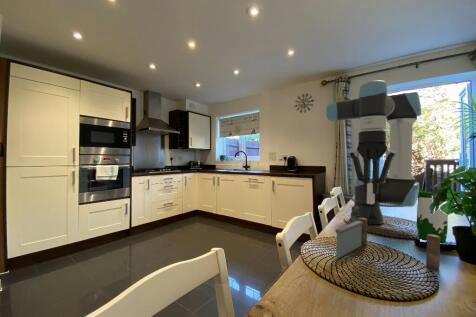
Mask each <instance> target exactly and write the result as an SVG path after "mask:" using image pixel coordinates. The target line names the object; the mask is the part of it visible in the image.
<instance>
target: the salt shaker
mask: <svg viewBox="0 0 476 317" xmlns="http://www.w3.org/2000/svg"><path fill="white" fill-rule="evenodd" d="M351 212H352V213H351ZM351 212H350V215H351V219H350V220H348V221H347V223H348V224H351V223H353V222H356V221H358V218H359V208H358V207H357V206H356V205H355V206H354V205H353V206H352V207H351ZM348 224H347V225H348Z"/></svg>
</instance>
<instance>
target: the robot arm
mask: <svg viewBox="0 0 476 317" xmlns="http://www.w3.org/2000/svg"><path fill="white" fill-rule="evenodd" d="M358 90H359V91H358V98H354V99H348V100H347V99H346V100H340V101H333V102H329V103H328V104H327V106H326V109H325V114H326V118H327V120H328V121H329V122H340V121H347V120H348V121H349V120H354V119H355V120H356V119H358V131H359V132H358V144H357V147H356V150H354V151H352V152H349V156H350V157H351V159H352V161H353V166H354V170H355V174H356V179H355V180H354V200H353V201H354V205H353V206H355V205H356V206H357V207H358V208H359V218H365V219H367V225H369V224H381V225H383V224H382V223H385V220H384V219H385V218H384V215H383V213H382V212H383V211H382V209H381V204H387V205H392V206H393V205H395V206H401V207H410V208H411V207H412V208H413V207H414V206H415V205H416V203H417V202H418V195H419V191H420V182H418V181H416V177H414V176H413V175H412V167H413V166H412V165H413V164H412V161H413V159H412V158H413V157H412V156H413V153H412V152H413V124H414V123H415V122H416V121H418V117H419V116H421V115H422V105H421V101H420V96H419V94H418V93H419V92H417V91H416V90H411V91H402V92H398V93H397V92H396V93H391V94H388V93H387V92H388V86H387V81H385V80H381V79H379V80H370V81H367V82H364V83H362V84H361V85H360V86H359V89H358ZM387 124H388V125H389V126H390V127H389V148H388V146H387V143H386V142H387V131H385V129H387ZM384 155H385V157H386V158H385V159H384V163H383V165H382V166H383V167H382V170H381V173H380V161H381V158H382V157H383V156H384ZM359 156H361V157H362V160H363V162H362V163H363V169H362V165H361V161H360V157H359ZM371 162H372V176H371ZM351 213H352V211H351V212H350V218H351ZM350 218H349V219H350Z"/></svg>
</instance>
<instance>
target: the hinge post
mask: <svg viewBox="0 0 476 317" xmlns="http://www.w3.org/2000/svg"><path fill="white" fill-rule="evenodd" d="M358 221H361V222H363V225H362V234H361V246H360V247H367V245H368V244H367V243H368V224H367V219H365V218H358Z"/></svg>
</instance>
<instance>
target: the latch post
mask: <svg viewBox="0 0 476 317" xmlns="http://www.w3.org/2000/svg"><path fill="white" fill-rule="evenodd" d="M425 254H426V255H425V258H426V259H425V261H426V262H425V264H426V265H425V267H426V269H428V270H430V271H434V272H440V265H441V263H440V262H441V261H440V260H441V259H440V258H441V257H440V256H441V247H440V237H439V236H437V235H432V234H427V244H426V253H425Z"/></svg>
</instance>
